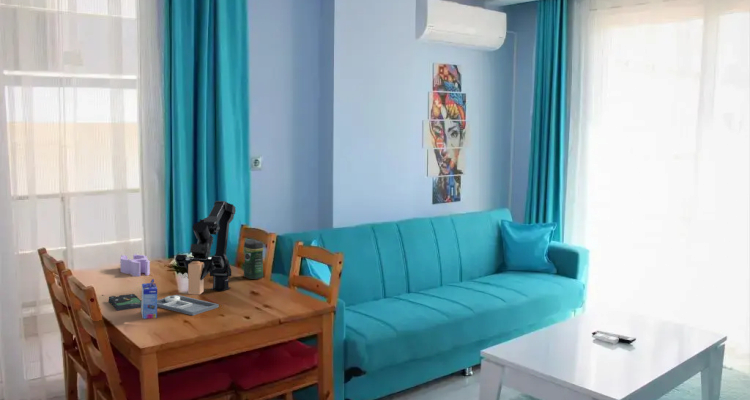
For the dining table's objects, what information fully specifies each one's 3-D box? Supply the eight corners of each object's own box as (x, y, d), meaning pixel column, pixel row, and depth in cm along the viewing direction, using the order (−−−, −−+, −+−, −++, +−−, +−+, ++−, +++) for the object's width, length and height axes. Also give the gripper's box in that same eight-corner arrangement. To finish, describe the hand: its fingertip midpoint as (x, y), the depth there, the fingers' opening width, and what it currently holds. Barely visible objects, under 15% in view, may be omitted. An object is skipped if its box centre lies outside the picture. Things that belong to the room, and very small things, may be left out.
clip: (156, 274, 316) (156, 260, 315) (130, 277, 308) (130, 263, 307) (141, 266, 331) (140, 253, 330) (116, 269, 323) (116, 256, 322)
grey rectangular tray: (150, 306, 262) (150, 299, 262) (176, 299, 274) (176, 292, 274) (192, 317, 250) (192, 310, 250) (218, 309, 262) (218, 302, 262)
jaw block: (192, 290, 260) (192, 260, 259) (203, 291, 260) (203, 260, 259) (188, 293, 256) (188, 262, 254) (199, 294, 256) (199, 263, 254)
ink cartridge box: (158, 319, 246) (157, 282, 244) (142, 321, 244) (142, 283, 242) (155, 312, 255) (155, 276, 253) (140, 313, 253) (140, 277, 251)
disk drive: (108, 303, 267) (117, 312, 255) (108, 296, 267) (116, 305, 255) (134, 299, 273) (143, 308, 261) (133, 293, 273) (143, 301, 261)
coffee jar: (265, 278, 315) (266, 240, 313) (252, 280, 310) (252, 242, 308) (254, 274, 322) (255, 237, 320) (241, 276, 317) (241, 239, 315)
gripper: (176, 234, 260) (166, 267, 250) (222, 236, 259) (213, 269, 249) (183, 249, 268) (173, 282, 259) (227, 251, 267) (219, 284, 258)
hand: (194, 279), depth 256 cm, fingers closed on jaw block, 5 cm apart
